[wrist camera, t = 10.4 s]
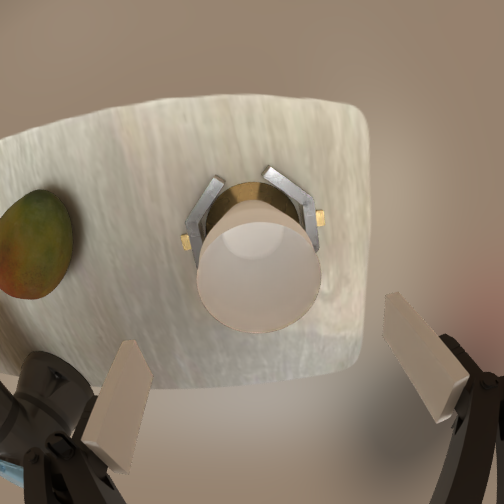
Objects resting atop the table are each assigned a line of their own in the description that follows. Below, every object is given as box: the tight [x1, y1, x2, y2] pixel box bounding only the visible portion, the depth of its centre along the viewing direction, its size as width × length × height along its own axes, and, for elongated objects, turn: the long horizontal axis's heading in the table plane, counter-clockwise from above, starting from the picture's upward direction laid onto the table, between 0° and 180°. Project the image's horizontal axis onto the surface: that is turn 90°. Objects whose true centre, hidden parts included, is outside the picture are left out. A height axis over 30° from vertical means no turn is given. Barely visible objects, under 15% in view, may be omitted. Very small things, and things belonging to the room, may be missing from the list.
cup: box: [197, 200, 321, 333], centre depth 26 cm, size 9×9×12 cm
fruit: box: [0, 190, 73, 299], centre depth 26 cm, size 12×13×10 cm
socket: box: [181, 165, 325, 270], centre depth 31 cm, size 15×13×2 cm
